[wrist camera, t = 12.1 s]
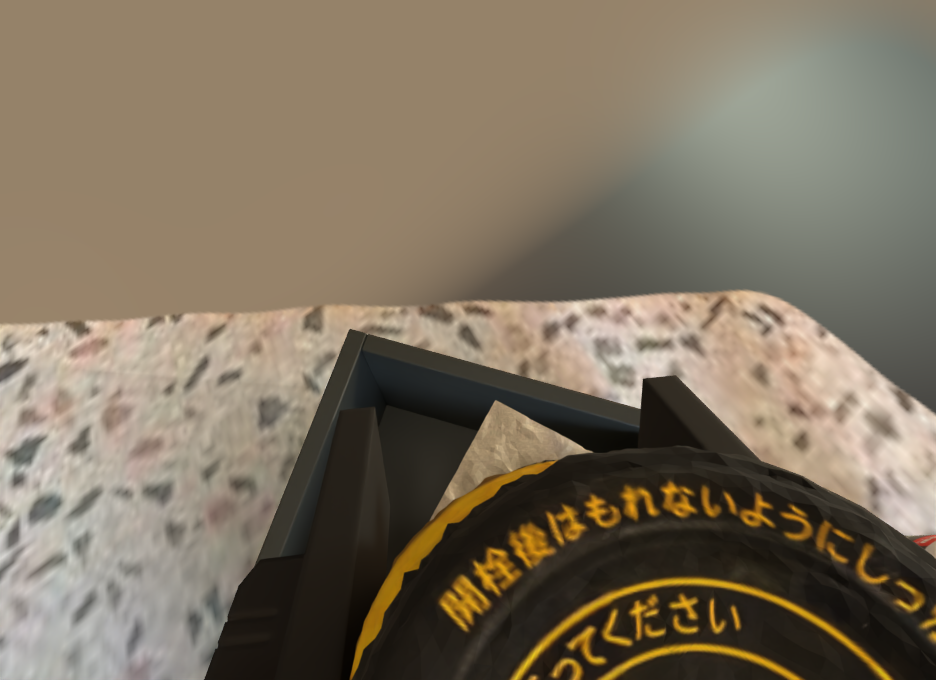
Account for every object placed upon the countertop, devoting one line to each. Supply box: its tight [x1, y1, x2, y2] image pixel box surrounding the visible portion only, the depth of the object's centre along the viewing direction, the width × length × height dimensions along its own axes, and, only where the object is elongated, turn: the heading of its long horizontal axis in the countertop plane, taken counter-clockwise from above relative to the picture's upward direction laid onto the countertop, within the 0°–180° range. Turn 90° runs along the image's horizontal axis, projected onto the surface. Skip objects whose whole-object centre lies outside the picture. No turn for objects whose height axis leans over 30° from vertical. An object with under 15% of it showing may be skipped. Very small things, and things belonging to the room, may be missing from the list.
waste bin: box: [254, 329, 641, 578], centre depth 24 cm, size 15×15×10 cm
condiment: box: [350, 400, 936, 680], centre depth 9 cm, size 7×8×12 cm
